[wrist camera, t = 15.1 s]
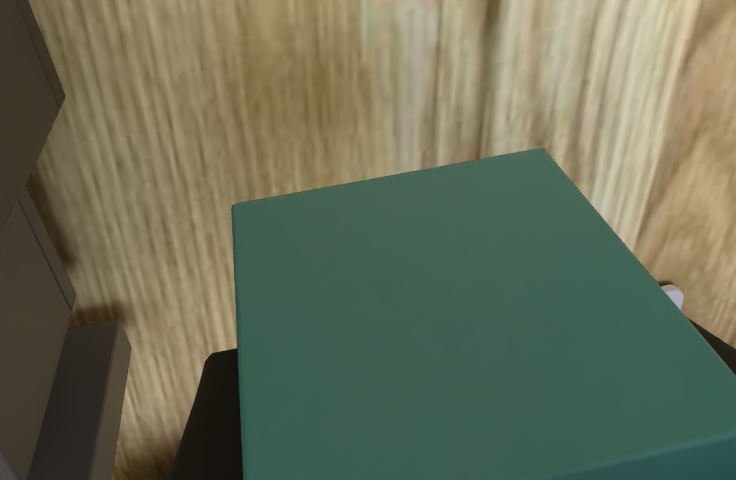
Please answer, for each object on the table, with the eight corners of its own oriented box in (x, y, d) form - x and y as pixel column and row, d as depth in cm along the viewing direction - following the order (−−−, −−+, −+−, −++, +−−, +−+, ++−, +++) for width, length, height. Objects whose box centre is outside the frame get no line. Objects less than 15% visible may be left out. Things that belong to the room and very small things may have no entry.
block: (531, 364, 12) (688, 663, 8) (285, 416, 12) (324, 758, 8) (544, 145, 10) (781, 423, 6) (229, 202, 9) (245, 546, 5)
